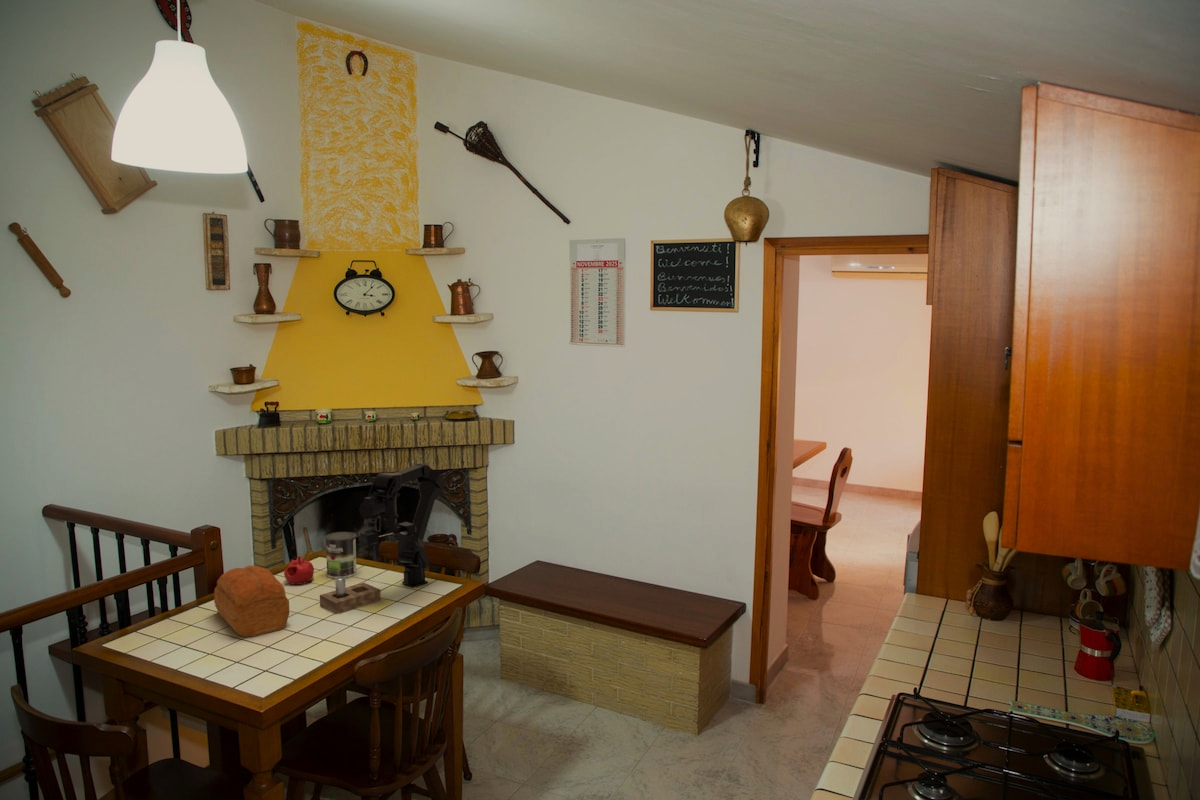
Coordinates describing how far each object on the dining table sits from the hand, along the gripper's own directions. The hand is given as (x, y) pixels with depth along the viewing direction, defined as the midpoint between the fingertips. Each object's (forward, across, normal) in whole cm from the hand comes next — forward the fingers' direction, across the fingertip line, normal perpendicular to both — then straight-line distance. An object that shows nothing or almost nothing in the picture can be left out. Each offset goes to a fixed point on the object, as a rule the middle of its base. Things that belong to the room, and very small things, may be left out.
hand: (388, 558), depth 270 cm
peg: (+13, +15, -4) cm, 21 cm away
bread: (+13, +40, -14) cm, 44 cm away
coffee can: (+13, -1, -31) cm, 34 cm away
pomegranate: (+13, +13, -35) cm, 40 cm away
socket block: (+13, +12, -4) cm, 18 cm away
